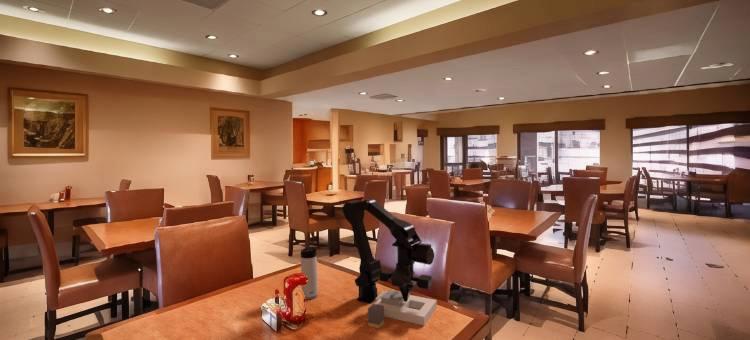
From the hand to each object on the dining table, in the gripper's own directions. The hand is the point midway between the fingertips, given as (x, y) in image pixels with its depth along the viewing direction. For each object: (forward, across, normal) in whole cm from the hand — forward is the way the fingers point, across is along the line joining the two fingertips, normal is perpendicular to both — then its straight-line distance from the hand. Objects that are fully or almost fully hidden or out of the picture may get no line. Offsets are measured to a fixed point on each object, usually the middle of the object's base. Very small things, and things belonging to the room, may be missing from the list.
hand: (405, 301), depth 125 cm
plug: (+4, -6, -13) cm, 15 cm away
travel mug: (+4, -40, -5) cm, 40 cm away
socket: (+4, -1, 0) cm, 4 cm away
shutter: (+1, -5, 0) cm, 5 cm away
